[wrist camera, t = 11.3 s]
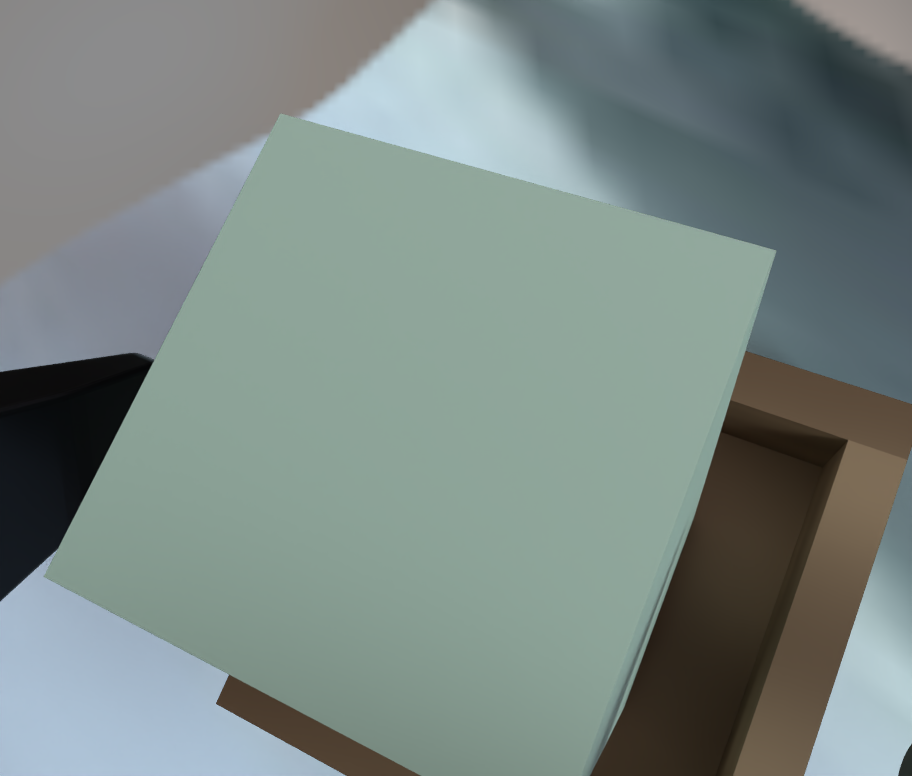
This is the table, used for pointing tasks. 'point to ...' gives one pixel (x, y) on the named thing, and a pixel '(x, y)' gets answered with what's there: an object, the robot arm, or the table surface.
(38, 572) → the table surface
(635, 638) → the post
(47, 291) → the table surface
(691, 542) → the socket base
